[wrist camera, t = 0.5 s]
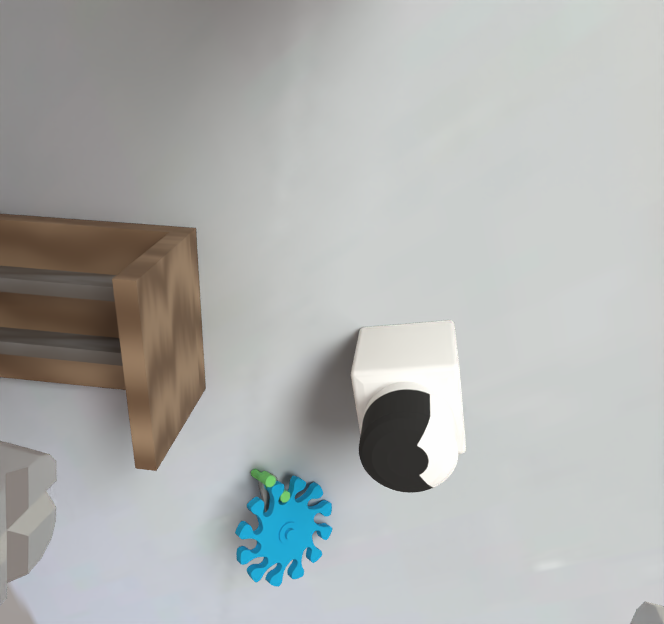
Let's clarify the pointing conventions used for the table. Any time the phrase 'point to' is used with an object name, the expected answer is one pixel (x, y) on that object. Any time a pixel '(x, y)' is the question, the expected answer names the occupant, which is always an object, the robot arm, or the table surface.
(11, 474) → the robot arm
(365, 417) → the container
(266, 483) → the gear
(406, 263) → the table surface
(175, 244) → the cabinet base
